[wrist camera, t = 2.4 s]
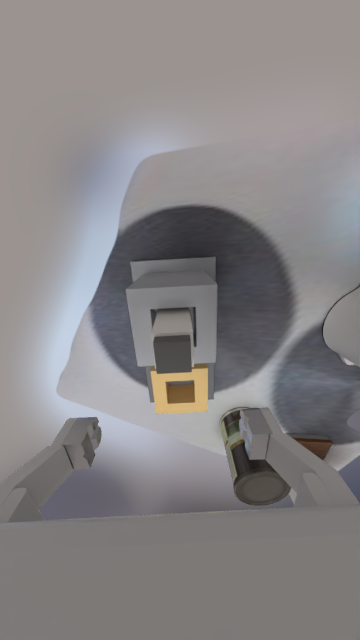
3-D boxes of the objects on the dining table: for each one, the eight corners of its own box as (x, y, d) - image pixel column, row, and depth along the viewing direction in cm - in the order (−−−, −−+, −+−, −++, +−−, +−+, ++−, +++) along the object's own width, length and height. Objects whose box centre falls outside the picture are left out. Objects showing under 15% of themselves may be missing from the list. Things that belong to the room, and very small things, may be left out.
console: (213, 256, 33) (237, 264, 20) (212, 392, 44) (226, 455, 31) (132, 260, 33) (103, 271, 20) (151, 395, 44) (140, 459, 31)
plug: (188, 302, 25) (194, 337, 16) (189, 328, 27) (195, 374, 17) (159, 304, 26) (149, 340, 16) (162, 330, 27) (153, 376, 17)
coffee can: (232, 401, 45) (254, 466, 32) (268, 414, 47) (303, 481, 34) (211, 430, 48) (224, 498, 35) (246, 441, 50) (270, 511, 37)
